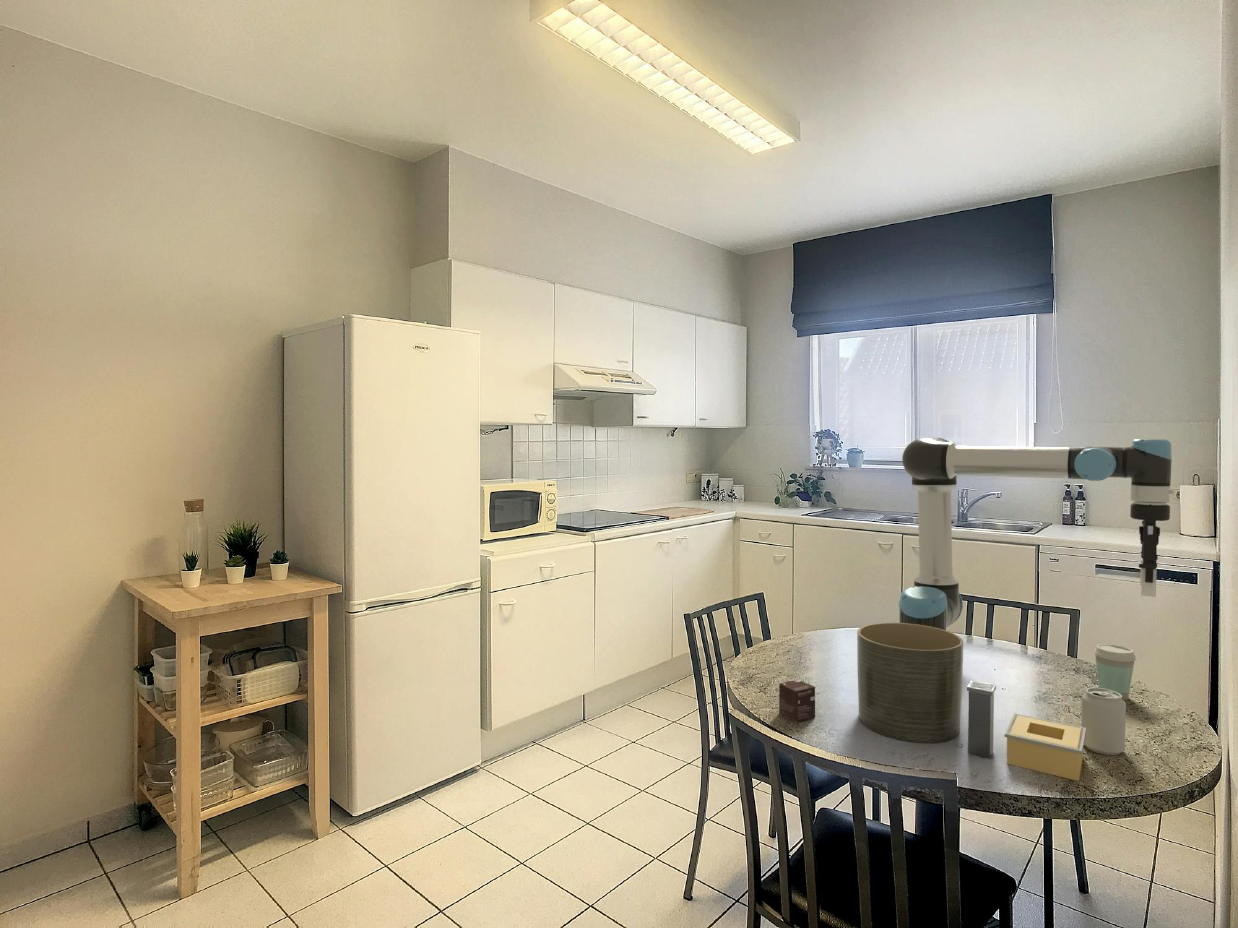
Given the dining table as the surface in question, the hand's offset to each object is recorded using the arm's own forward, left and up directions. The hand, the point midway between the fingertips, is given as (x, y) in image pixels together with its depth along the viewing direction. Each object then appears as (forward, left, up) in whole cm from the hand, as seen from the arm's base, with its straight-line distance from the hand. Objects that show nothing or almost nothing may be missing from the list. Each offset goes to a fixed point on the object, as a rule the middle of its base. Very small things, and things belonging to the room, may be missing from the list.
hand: (1147, 590), depth 167 cm
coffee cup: (-6, +1, -28) cm, 28 cm away
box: (-65, -57, -28) cm, 91 cm away
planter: (-43, -46, -28) cm, 69 cm away
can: (-7, -36, -28) cm, 46 cm away
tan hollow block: (-16, -49, -28) cm, 58 cm away
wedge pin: (-27, -53, -28) cm, 65 cm away
